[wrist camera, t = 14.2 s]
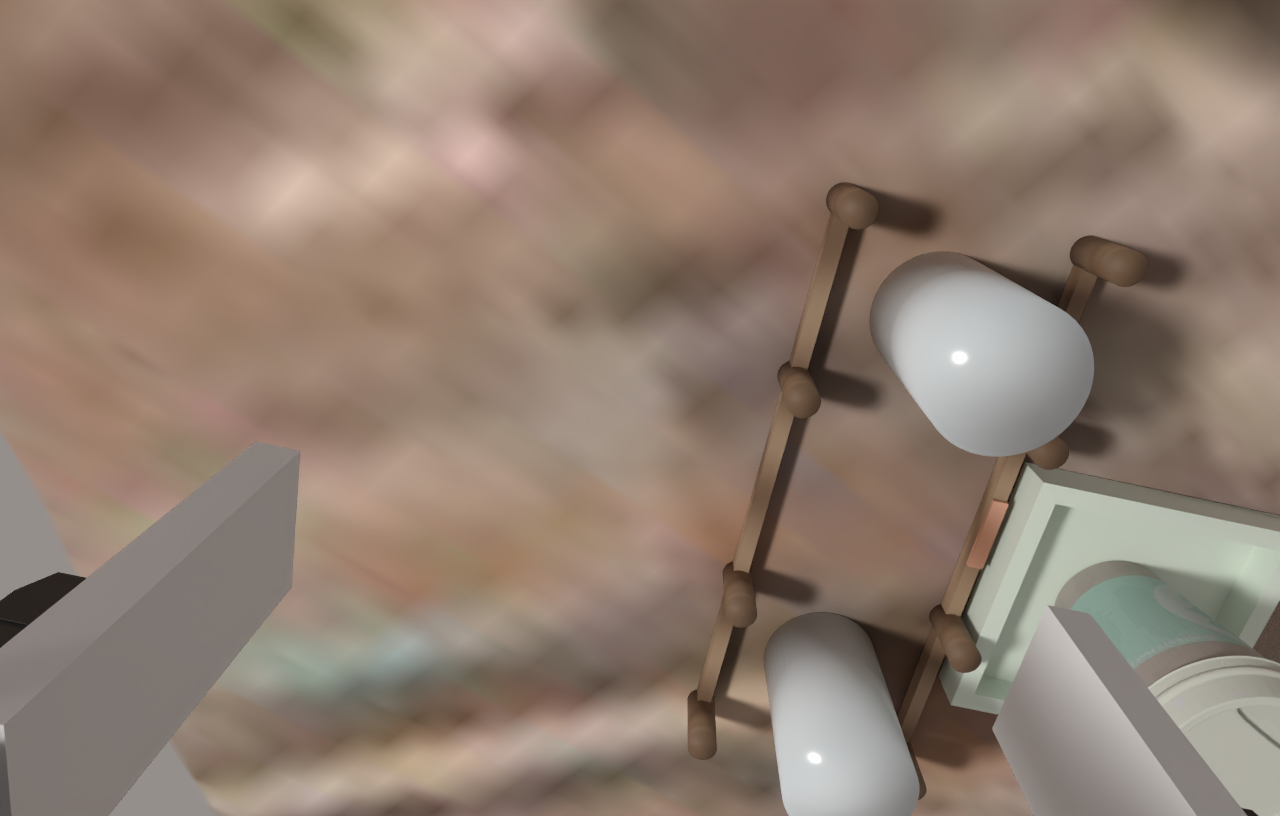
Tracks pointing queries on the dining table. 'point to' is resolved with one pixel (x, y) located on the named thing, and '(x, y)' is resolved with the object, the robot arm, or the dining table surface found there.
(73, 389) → the dining table surface
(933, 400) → the white rounded block
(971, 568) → the rack
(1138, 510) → the tray
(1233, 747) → the coffee cup
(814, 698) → the white rounded capsule
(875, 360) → the dining table surface
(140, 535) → the robot arm
